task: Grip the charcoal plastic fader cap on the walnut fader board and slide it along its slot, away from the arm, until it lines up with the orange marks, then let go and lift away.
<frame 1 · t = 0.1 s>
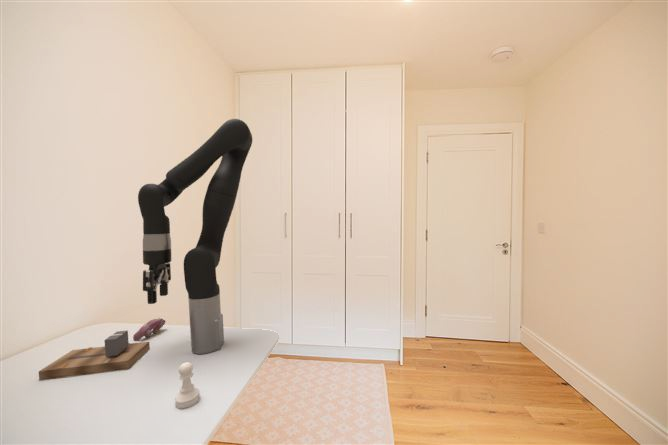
hand: (158, 299, 86), 17 cm above the table, tool pointing down, fingers open, 8 cm apart
video game controller: (150, 335, 101), on the table
chess pawn: (187, 402, 63), on the table
fader cap: (117, 343, 83), point 6 cm above the table, slide at 0.0 cm
fader base: (99, 363, 82), on the table
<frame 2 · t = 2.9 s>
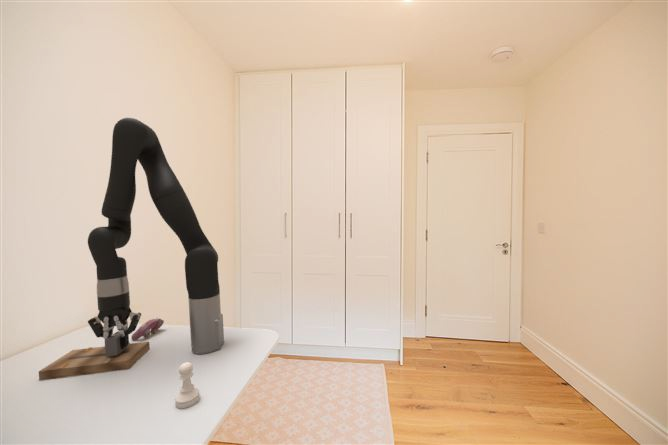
hand: (117, 348, 83), 4 cm above the table, tool pointing down, fingers closed on fader cap, 3 cm apart
fader cap: (117, 342, 83), point 6 cm above the table, slide at 0.0 cm, touching gripper
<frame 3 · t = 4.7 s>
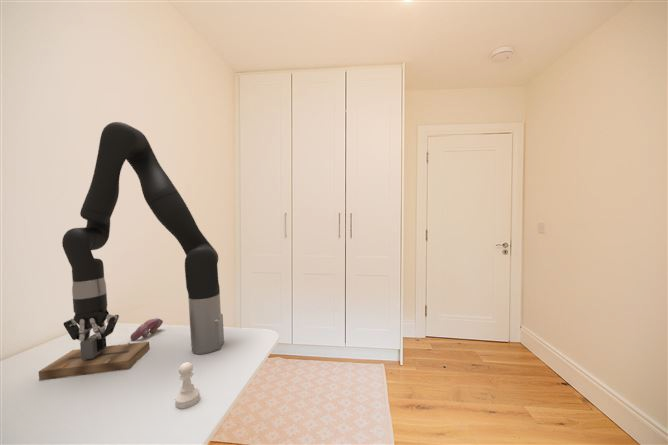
hand: (94, 350, 82), 4 cm above the table, tool pointing down, fingers closed on fader cap, 3 cm apart
fader cap: (93, 345, 82), point 6 cm above the table, slide at 6.2 cm, touching gripper
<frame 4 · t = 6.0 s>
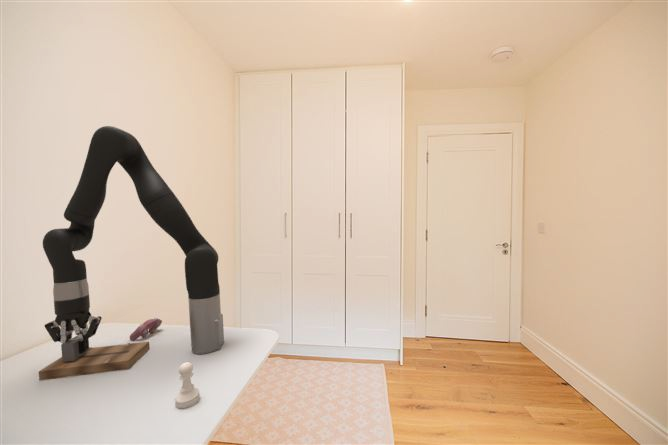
hand: (76, 352, 81), 4 cm above the table, tool pointing down, fingers closed on fader cap, 3 cm apart
fader cap: (75, 347, 81), point 6 cm above the table, slide at 10.9 cm, touching gripper
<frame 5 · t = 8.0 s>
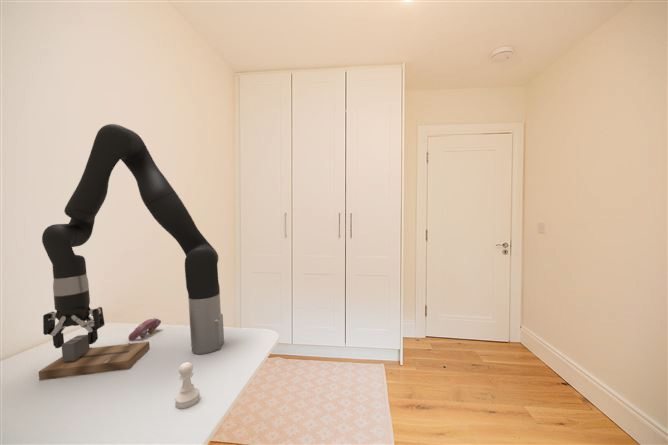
hand: (76, 345, 81), 6 cm above the table, tool pointing down, fingers open, 8 cm apart
fader cap: (76, 347, 81), point 6 cm above the table, slide at 10.8 cm
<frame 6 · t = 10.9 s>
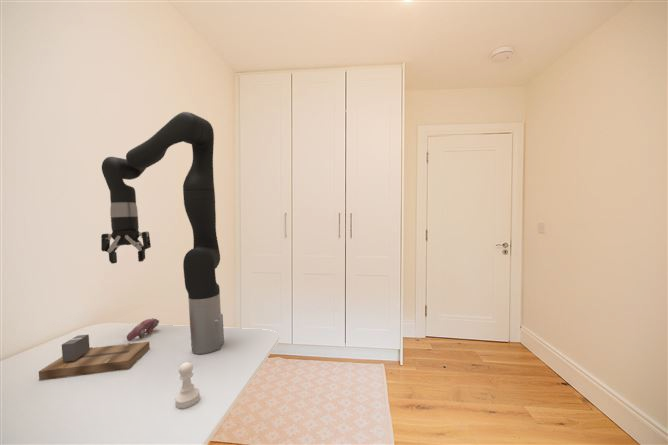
hand: (127, 262, 95), 28 cm above the table, tool pointing down, fingers open, 8 cm apart
at the end: fader cap slide at 10.8 cm; the gripper is holding nothing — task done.
